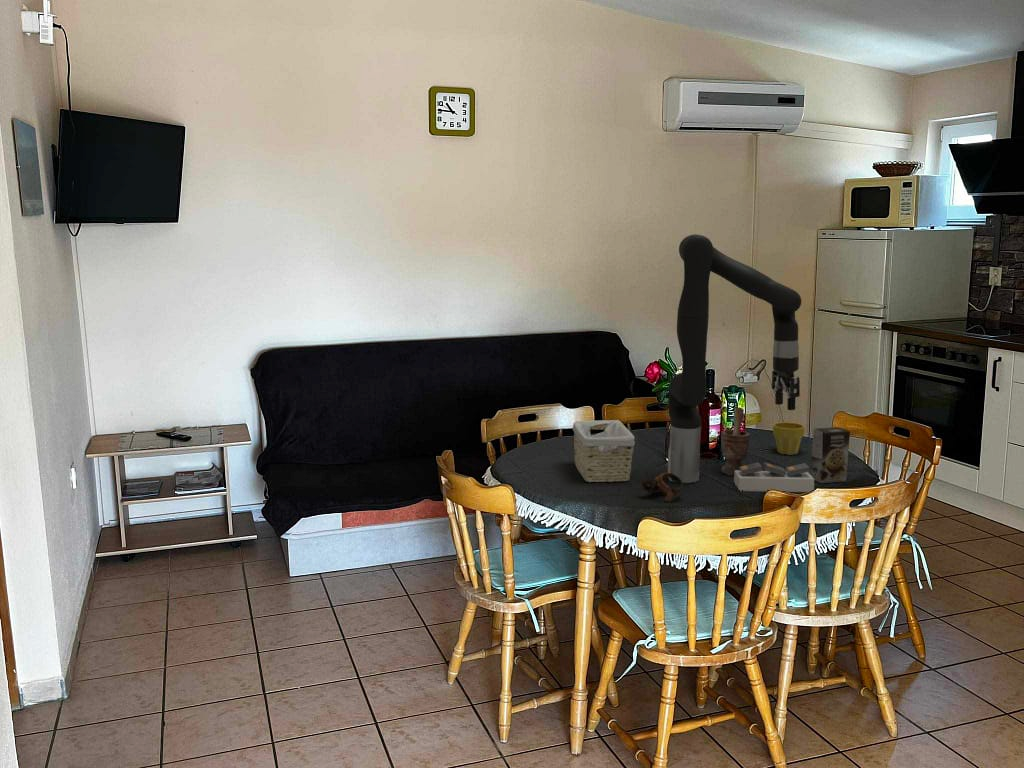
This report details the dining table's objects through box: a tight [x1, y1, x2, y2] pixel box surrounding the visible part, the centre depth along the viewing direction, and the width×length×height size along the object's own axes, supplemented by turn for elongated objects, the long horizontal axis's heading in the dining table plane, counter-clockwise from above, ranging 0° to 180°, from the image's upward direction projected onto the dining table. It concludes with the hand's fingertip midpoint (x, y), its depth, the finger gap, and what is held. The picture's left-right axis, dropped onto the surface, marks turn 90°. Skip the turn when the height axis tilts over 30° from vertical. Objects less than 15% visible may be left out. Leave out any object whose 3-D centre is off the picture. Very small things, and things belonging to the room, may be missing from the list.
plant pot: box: [772, 421, 806, 456], centre depth 315 cm, size 10×10×10 cm
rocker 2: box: [761, 462, 786, 476], centre depth 277 cm, size 6×4×2 cm
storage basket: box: [572, 419, 636, 483], centre depth 291 cm, size 24×16×15 cm
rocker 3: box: [785, 462, 811, 476], centre depth 276 cm, size 6×4×2 cm
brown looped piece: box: [640, 471, 684, 503], centre depth 268 cm, size 12×10×8 cm
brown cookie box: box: [809, 426, 851, 484], centre depth 284 cm, size 9×6×16 cm
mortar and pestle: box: [720, 407, 750, 476], centre depth 293 cm, size 12×9×20 cm
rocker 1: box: [739, 462, 764, 475], centre depth 277 cm, size 6×4×2 cm
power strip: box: [733, 470, 815, 493], centre depth 277 cm, size 22×8×5 cm, turn 87°
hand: (785, 407), depth 281 cm, fingers open, 8 cm apart
